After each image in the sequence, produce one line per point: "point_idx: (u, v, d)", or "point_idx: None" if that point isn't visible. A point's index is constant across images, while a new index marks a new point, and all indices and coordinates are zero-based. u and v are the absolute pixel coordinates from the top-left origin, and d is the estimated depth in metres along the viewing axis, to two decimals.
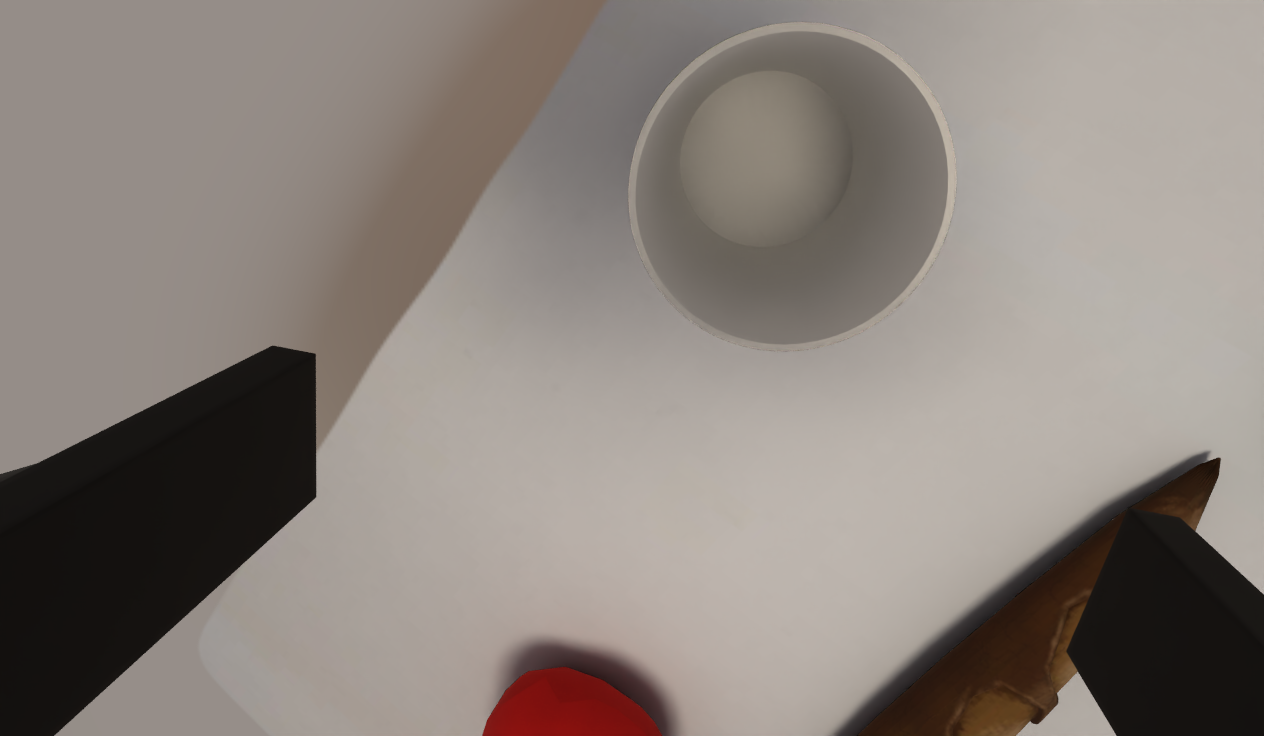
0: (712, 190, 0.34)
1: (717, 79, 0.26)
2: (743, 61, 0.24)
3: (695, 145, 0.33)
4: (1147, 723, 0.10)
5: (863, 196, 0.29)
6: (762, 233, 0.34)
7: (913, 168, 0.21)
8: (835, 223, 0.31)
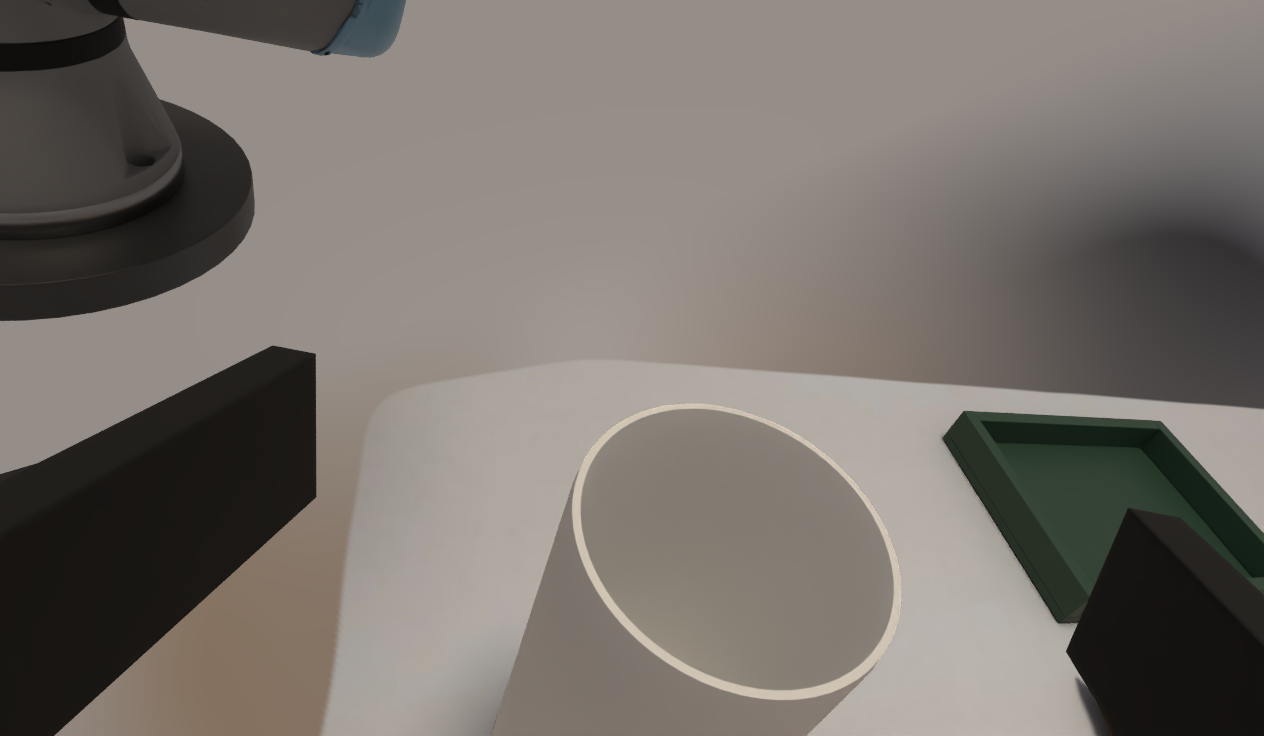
0: None
1: None
2: None
3: None
4: (1147, 723, 0.10)
5: (714, 671, 0.27)
6: None
7: (757, 521, 0.23)
8: None
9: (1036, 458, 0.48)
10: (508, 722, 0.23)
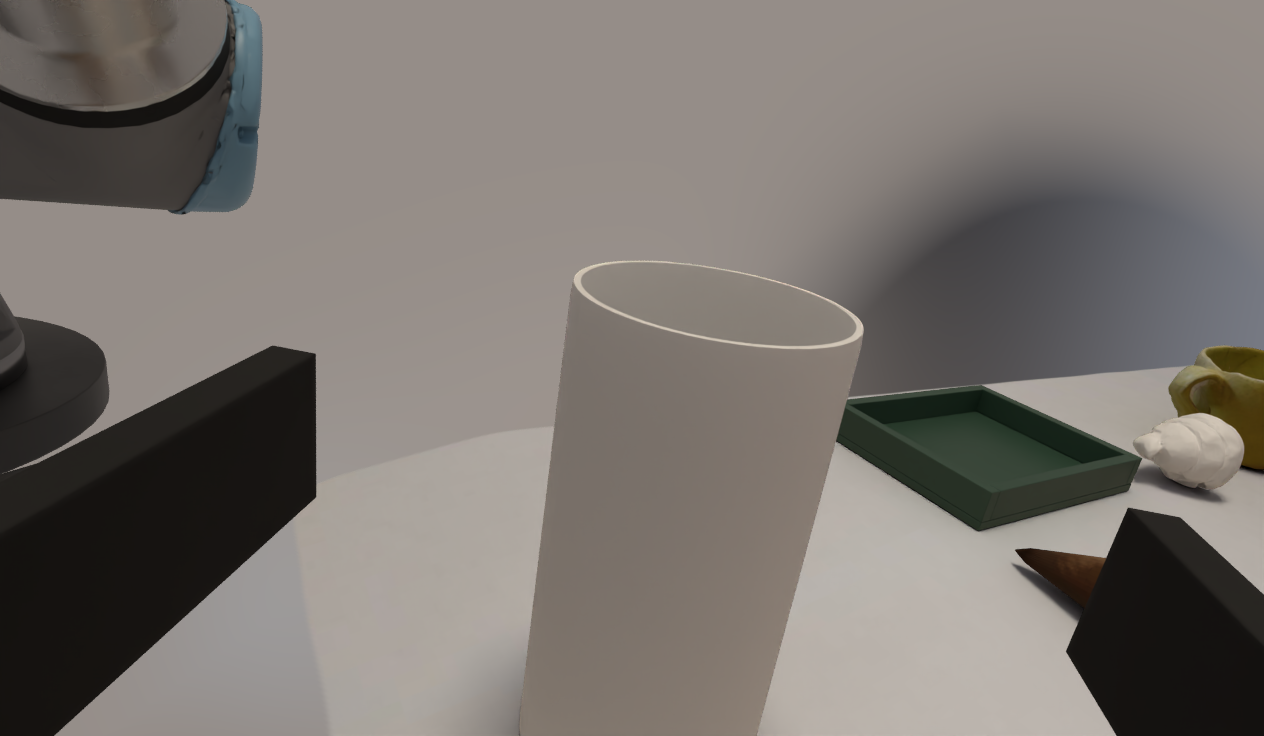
0: None
1: None
2: None
3: None
4: (1147, 723, 0.10)
5: None
6: None
7: None
8: None
9: (903, 430, 0.55)
10: (550, 618, 0.22)
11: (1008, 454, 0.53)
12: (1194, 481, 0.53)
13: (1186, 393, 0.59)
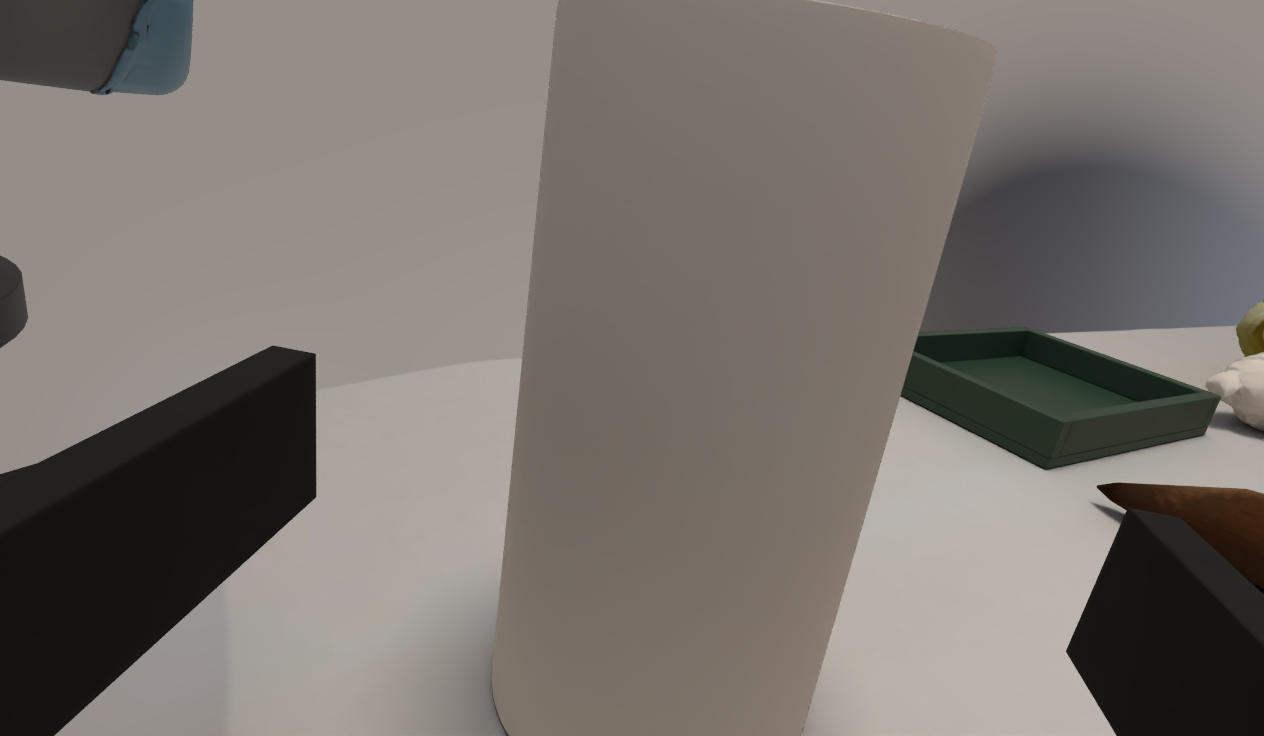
0: None
1: None
2: None
3: None
4: (1147, 723, 0.10)
5: None
6: None
7: None
8: None
9: None
10: (530, 507, 0.15)
11: (1065, 395, 0.47)
12: None
13: (1258, 332, 0.52)
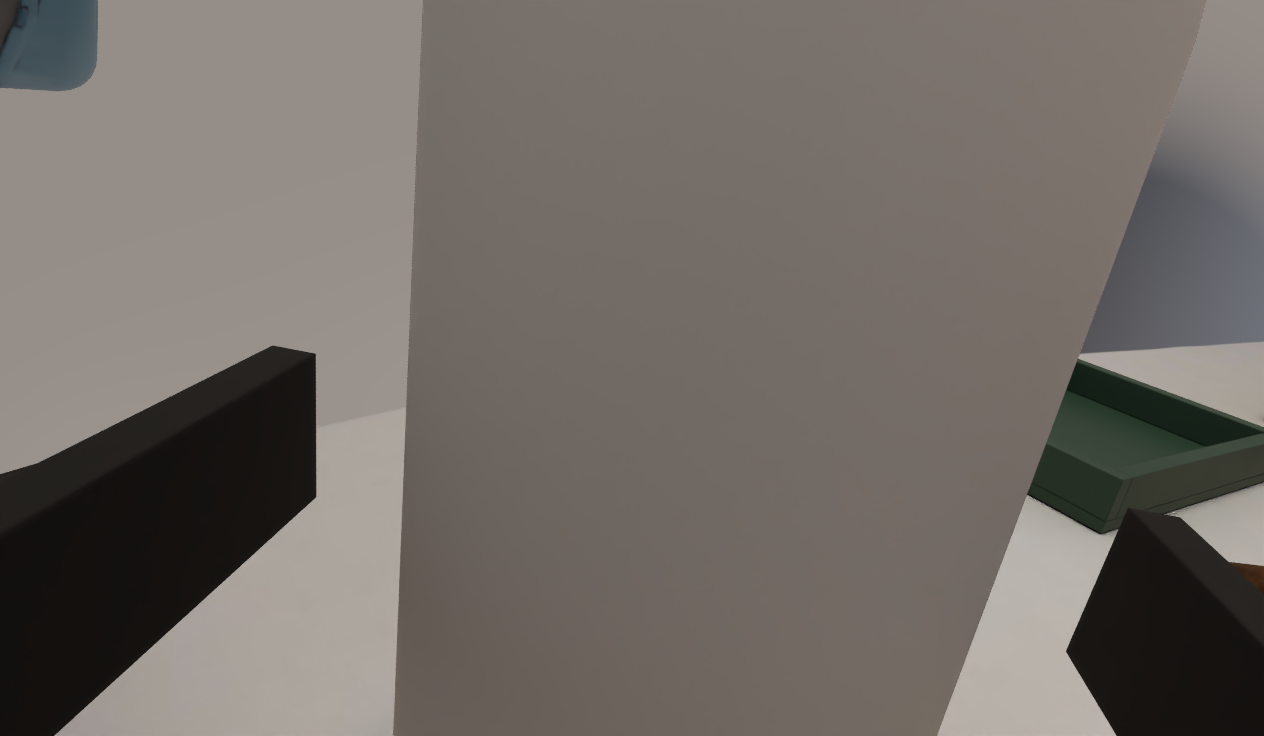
0: None
1: None
2: None
3: None
4: (1147, 723, 0.10)
5: None
6: None
7: None
8: None
9: None
10: (409, 735, 0.10)
11: (1108, 434, 0.41)
12: None
13: None
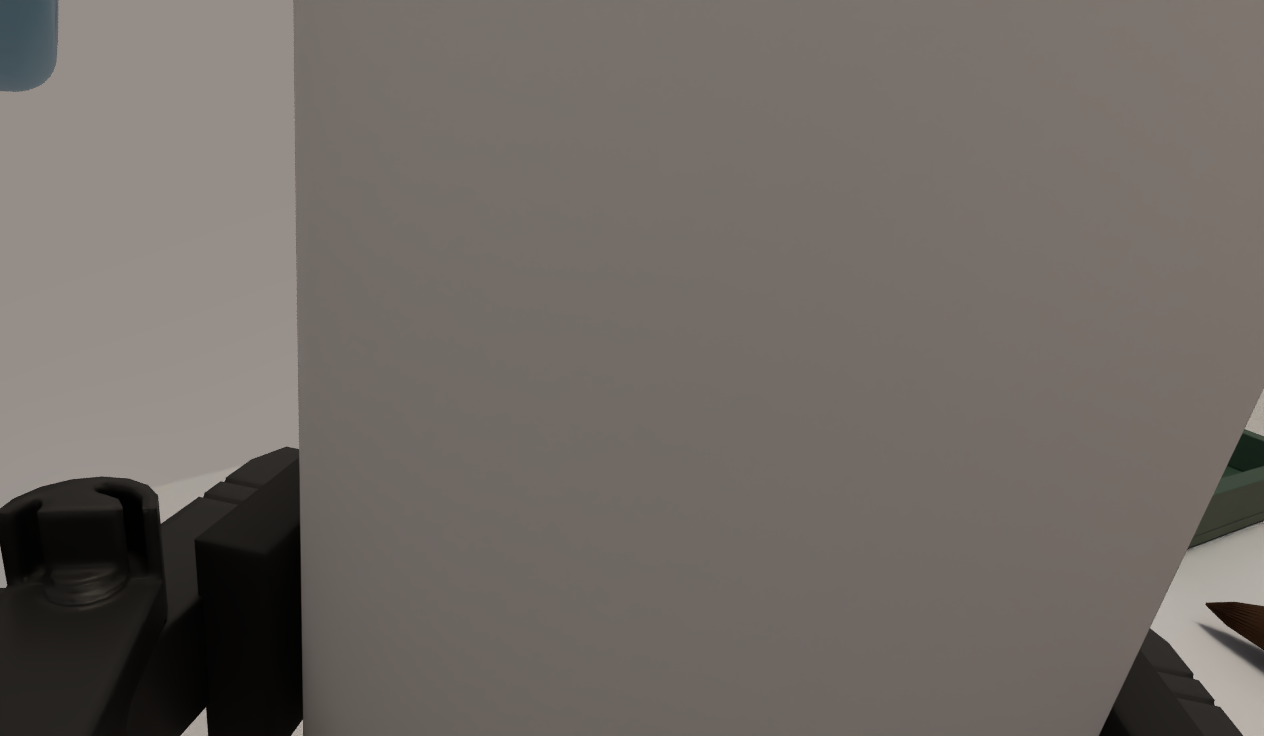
0: None
1: None
2: None
3: None
4: None
5: None
6: None
7: None
8: None
9: None
10: None
11: None
12: None
13: None
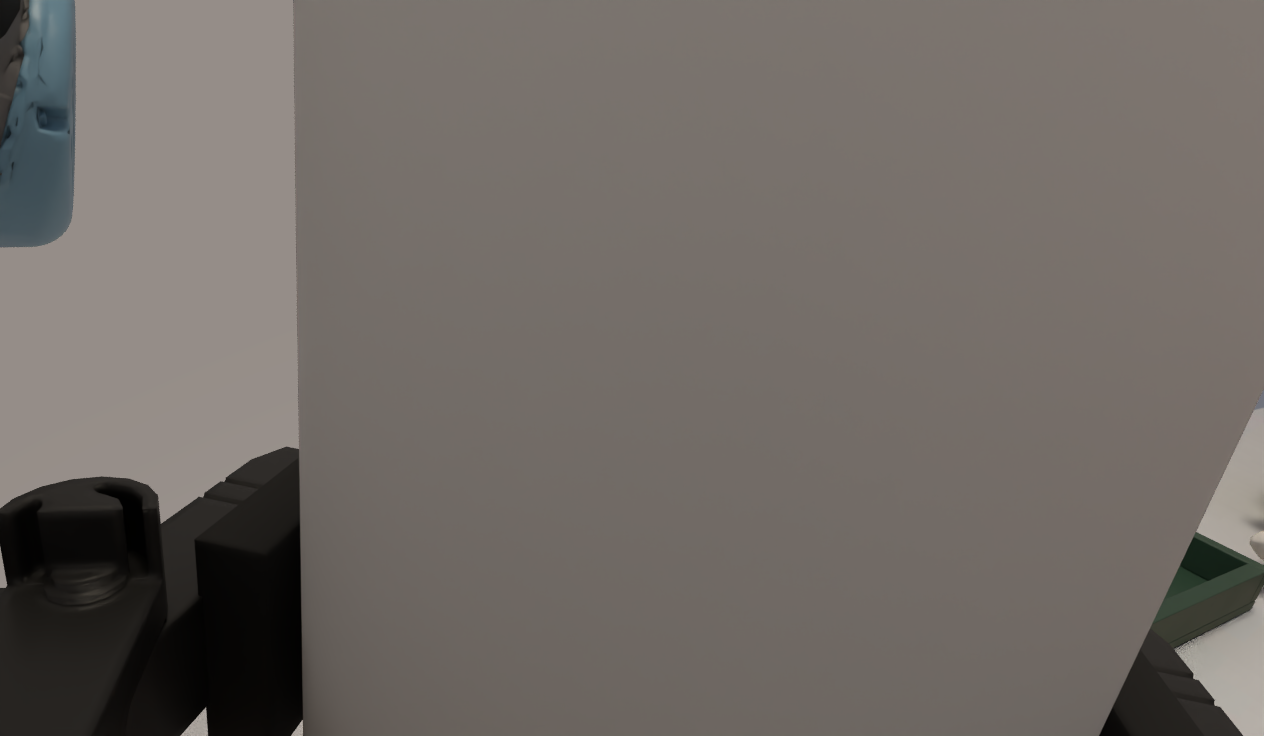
0: None
1: None
2: None
3: None
4: None
5: None
6: None
7: None
8: None
9: None
10: None
11: None
12: None
13: None
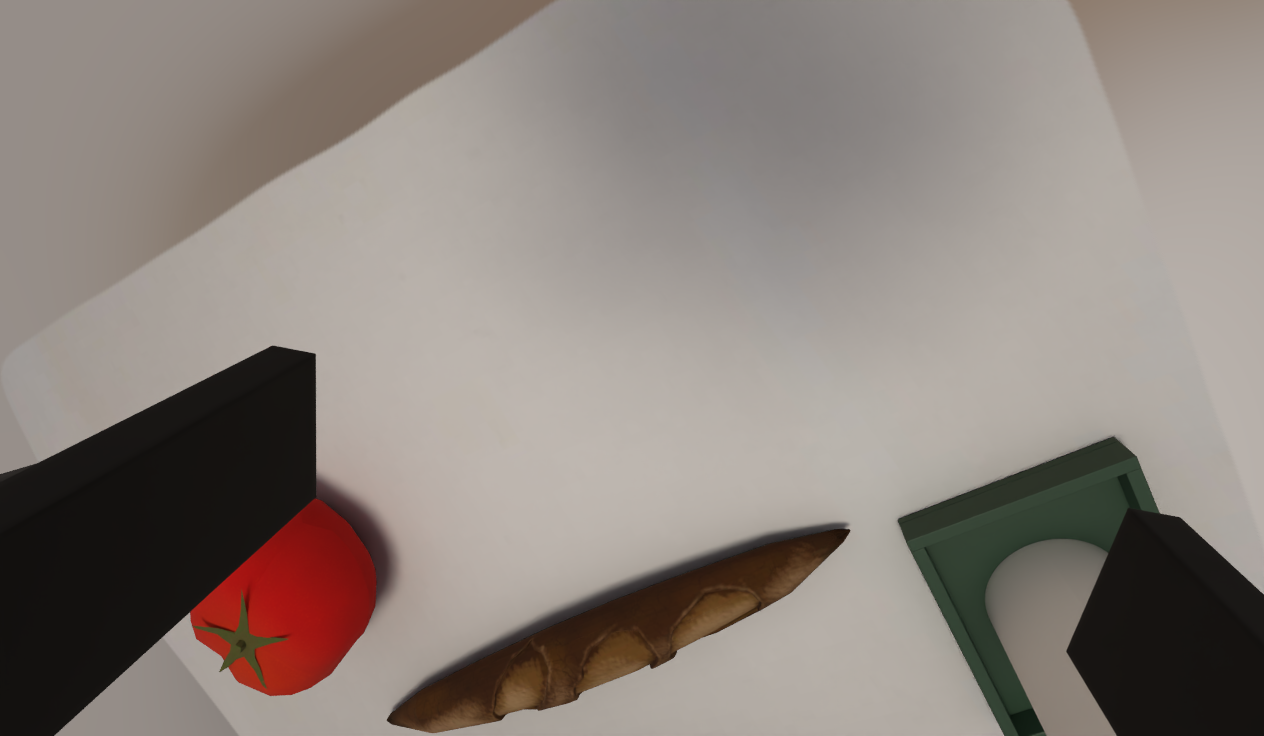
0: None
1: None
2: None
3: None
4: (1147, 723, 0.10)
5: None
6: None
7: None
8: None
9: None
10: (1068, 608, 0.39)
11: None
12: None
13: None
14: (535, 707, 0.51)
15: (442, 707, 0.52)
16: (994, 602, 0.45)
